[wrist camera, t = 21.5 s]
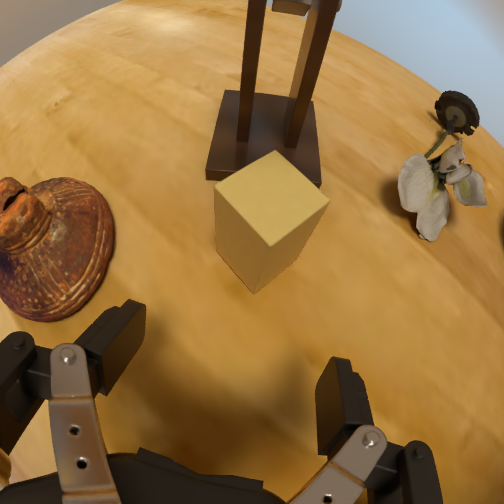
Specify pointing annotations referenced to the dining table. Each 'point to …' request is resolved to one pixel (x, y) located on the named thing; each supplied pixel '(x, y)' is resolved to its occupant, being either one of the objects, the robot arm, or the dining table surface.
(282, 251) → the butter
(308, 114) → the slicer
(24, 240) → the bell
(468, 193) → the artificial flower
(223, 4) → the dining table surface
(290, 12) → the blade lever
